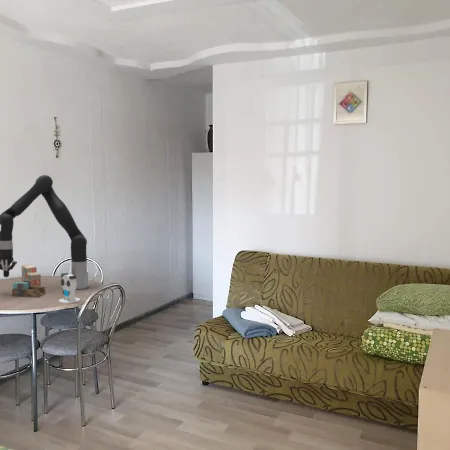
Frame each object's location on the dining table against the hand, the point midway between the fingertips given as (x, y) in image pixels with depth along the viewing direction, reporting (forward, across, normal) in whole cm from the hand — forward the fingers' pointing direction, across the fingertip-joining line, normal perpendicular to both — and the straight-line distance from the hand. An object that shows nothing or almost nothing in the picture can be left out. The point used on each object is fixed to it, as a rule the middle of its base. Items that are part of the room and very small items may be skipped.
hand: (6, 276), depth 283 cm
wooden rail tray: (+10, -14, 0) cm, 17 cm away
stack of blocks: (+10, -4, -22) cm, 24 cm away
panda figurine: (+10, -42, +8) cm, 44 cm away
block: (+9, -9, 0) cm, 13 cm away
